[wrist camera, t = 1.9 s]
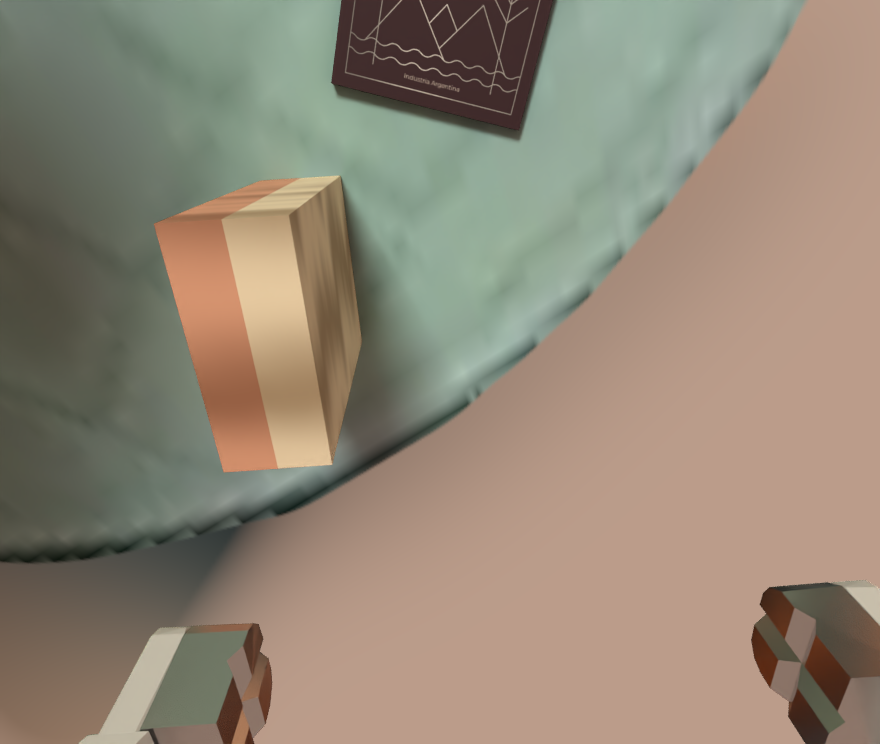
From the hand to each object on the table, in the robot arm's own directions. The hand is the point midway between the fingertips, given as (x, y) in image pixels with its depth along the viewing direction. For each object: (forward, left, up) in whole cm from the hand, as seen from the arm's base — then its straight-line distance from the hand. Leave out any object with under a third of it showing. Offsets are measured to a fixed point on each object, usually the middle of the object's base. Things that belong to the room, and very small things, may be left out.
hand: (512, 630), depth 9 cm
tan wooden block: (-1, -7, -23) cm, 24 cm away
